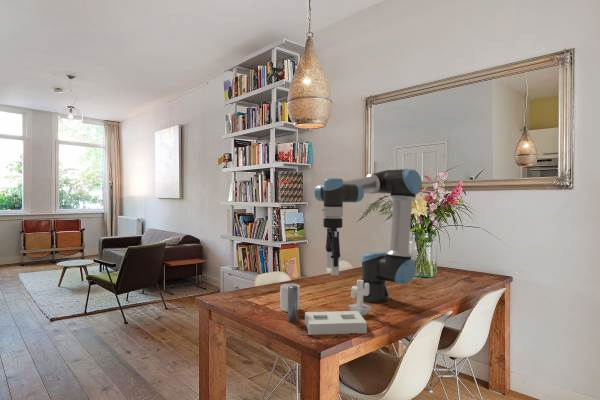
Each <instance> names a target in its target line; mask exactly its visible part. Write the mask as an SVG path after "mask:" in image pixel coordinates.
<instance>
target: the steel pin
mask: <svg viewBox="0 0 600 400" xmlns="http://www.w3.org/2000/svg"><path fill="white" fill-rule="evenodd" d="M297 300H298V287H297V286H288V312H287V322H290V323H297V321H298V311H297Z"/></svg>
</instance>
